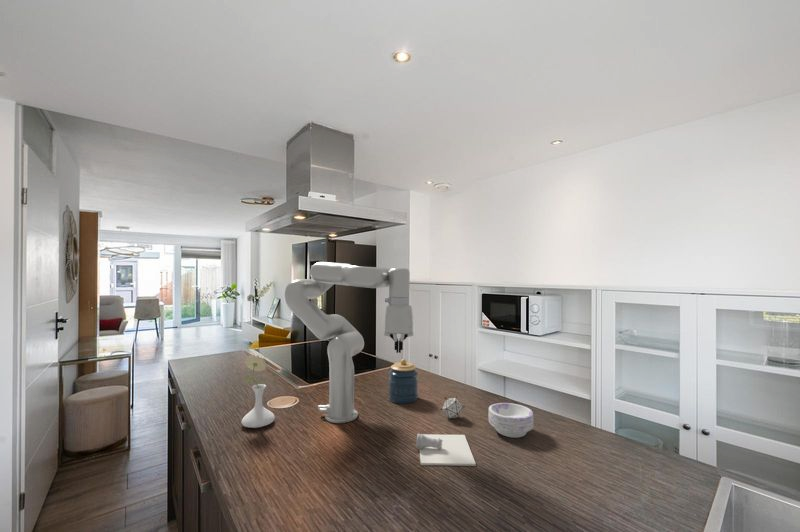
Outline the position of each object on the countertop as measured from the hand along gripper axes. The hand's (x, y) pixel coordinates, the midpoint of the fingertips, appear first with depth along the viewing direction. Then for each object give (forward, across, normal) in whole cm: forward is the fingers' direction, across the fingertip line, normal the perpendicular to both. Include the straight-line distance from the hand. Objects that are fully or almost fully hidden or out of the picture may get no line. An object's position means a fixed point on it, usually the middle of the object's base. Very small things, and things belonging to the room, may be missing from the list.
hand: (398, 351), depth 126 cm
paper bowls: (+27, +40, -3) cm, 49 cm away
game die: (+27, +21, +8) cm, 35 cm away
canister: (+27, +2, +28) cm, 39 cm away
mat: (+27, +15, -16) cm, 35 cm away
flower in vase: (+27, -52, +1) cm, 59 cm away
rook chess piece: (+24, +6, -16) cm, 30 cm away
